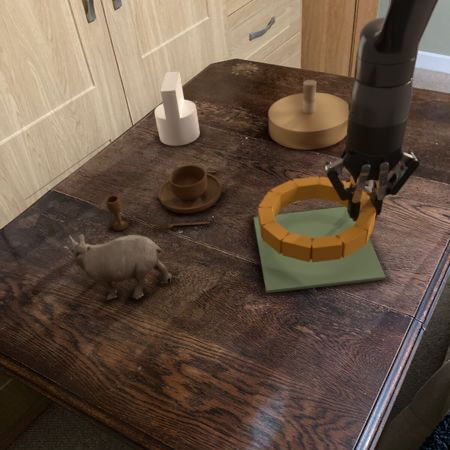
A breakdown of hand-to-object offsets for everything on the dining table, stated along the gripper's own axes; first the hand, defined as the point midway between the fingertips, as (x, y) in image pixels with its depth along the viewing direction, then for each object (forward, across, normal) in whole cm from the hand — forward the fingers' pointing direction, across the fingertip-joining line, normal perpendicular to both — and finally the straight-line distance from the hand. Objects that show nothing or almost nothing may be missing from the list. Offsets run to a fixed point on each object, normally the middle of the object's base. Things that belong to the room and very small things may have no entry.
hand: (363, 216), depth 76 cm
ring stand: (+5, -1, +38) cm, 38 cm away
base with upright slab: (+5, -29, +42) cm, 52 cm away
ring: (0, -8, 0) cm, 8 cm away
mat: (+5, -7, 0) cm, 9 cm away
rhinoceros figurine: (+6, -39, -3) cm, 40 cm away
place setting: (+6, -31, +18) cm, 37 cm away
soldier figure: (+5, +7, +16) cm, 18 cm away
